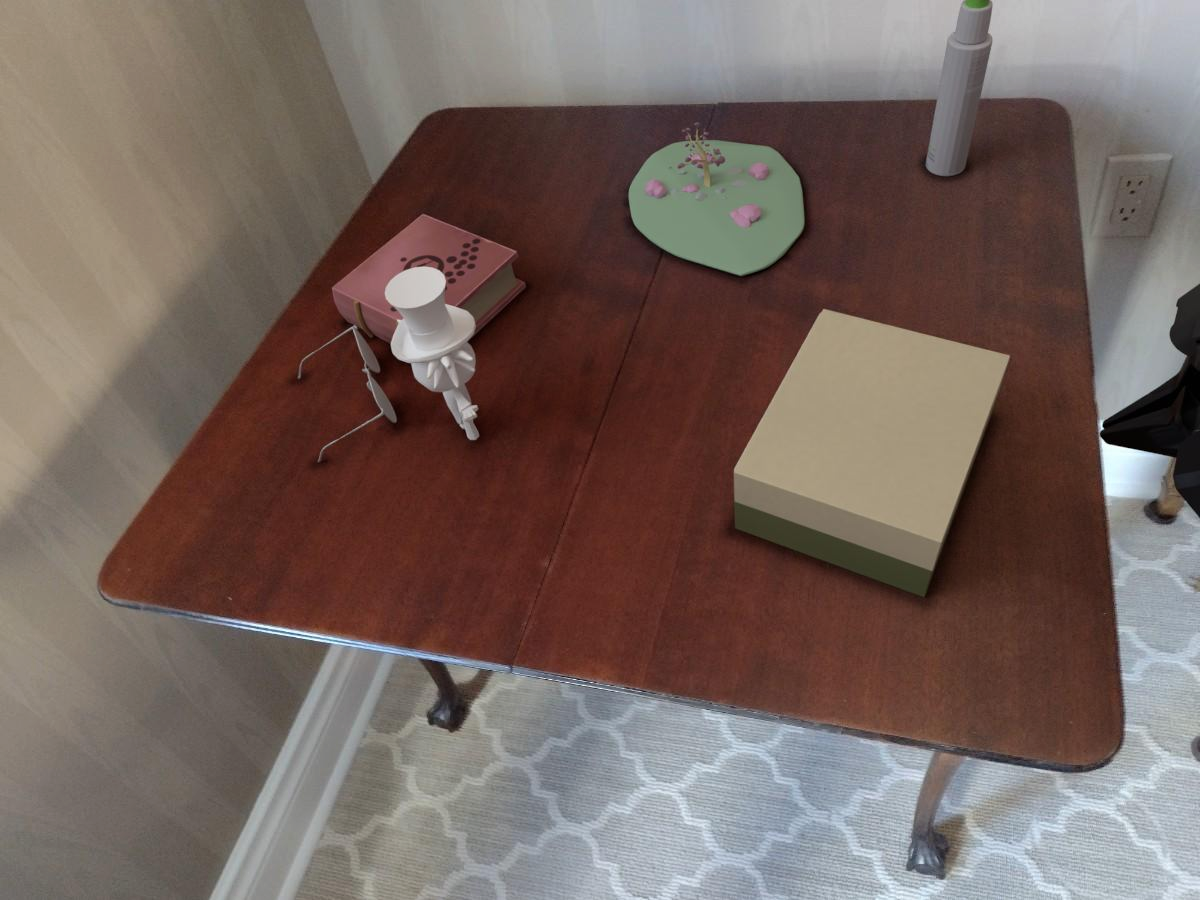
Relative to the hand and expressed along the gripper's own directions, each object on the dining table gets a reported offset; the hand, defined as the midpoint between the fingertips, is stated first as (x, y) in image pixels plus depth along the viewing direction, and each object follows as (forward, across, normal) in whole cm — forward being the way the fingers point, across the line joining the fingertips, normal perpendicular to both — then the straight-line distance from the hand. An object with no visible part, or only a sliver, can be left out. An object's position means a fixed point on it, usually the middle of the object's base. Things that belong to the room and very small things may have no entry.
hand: (1104, 432), depth 62 cm
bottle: (+24, -46, -6) cm, 52 cm away
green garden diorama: (+39, -31, -21) cm, 54 cm away
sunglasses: (+55, +12, -37) cm, 68 cm away
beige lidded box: (+20, 0, -2) cm, 20 cm away
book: (+56, -4, -37) cm, 67 cm away
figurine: (+46, +10, -28) cm, 54 cm away
